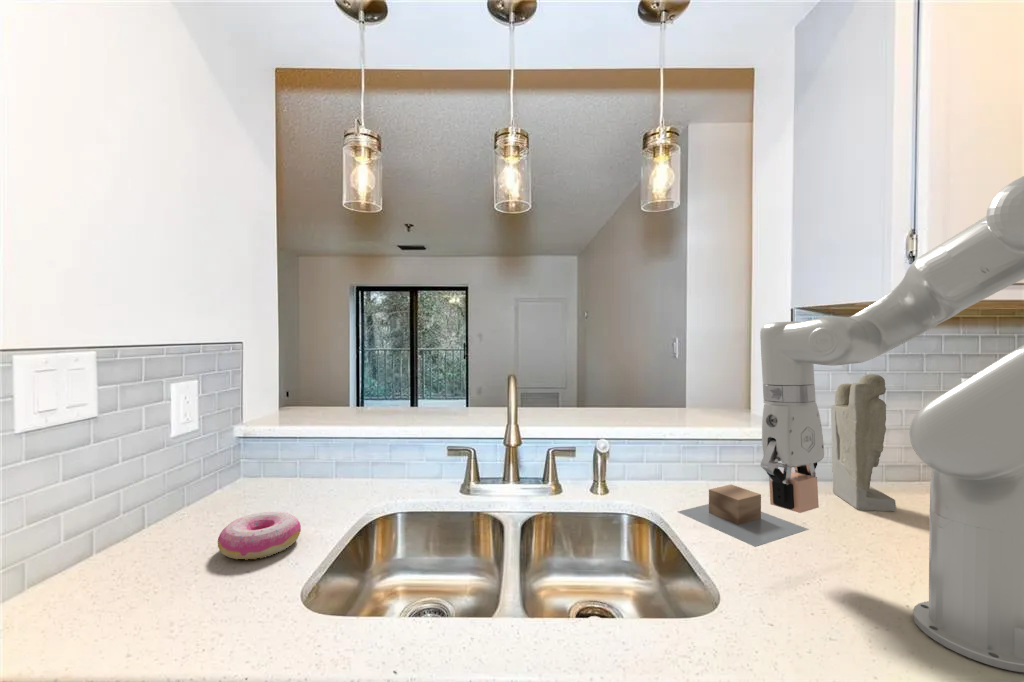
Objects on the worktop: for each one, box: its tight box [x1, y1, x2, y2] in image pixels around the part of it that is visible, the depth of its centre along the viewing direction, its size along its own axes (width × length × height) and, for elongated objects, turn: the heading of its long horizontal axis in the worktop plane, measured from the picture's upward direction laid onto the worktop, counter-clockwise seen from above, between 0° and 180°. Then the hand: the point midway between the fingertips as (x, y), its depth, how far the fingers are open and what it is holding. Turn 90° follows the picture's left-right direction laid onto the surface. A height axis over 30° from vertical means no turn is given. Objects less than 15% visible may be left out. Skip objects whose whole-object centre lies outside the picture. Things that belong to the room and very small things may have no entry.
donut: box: [217, 511, 302, 561], centre depth 84 cm, size 14×13×5 cm
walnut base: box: [708, 484, 762, 525], centre depth 95 cm, size 7×7×5 cm
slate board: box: [677, 503, 809, 548], centre depth 93 cm, size 18×16×1 cm
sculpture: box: [830, 373, 897, 512], centre depth 104 cm, size 15×8×30 cm, turn 168°
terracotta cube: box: [768, 470, 820, 514], centre depth 76 cm, size 5×5×5 cm
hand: (794, 502), depth 76 cm, fingers closed on terracotta cube, 5 cm apart
